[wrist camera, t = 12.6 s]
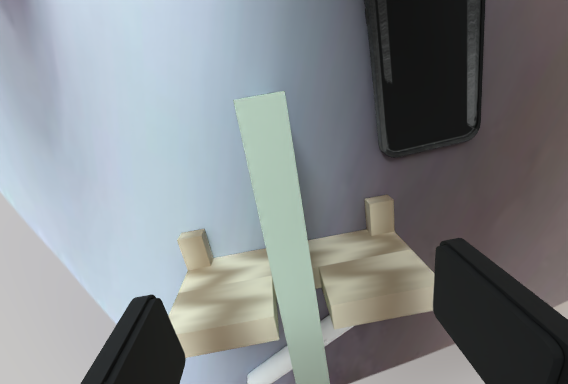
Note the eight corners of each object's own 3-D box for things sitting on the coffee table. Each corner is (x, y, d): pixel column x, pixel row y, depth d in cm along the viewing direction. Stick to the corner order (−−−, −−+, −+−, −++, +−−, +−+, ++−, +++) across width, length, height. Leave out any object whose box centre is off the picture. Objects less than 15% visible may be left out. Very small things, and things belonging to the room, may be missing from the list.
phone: (489, -109, 16) (480, 138, 21) (475, -96, 17) (469, 136, 22) (360, -77, 16) (382, 160, 21) (354, -67, 17) (377, 157, 22)
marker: (379, 272, 26) (390, 288, 24) (390, 284, 27) (402, 301, 25) (247, 368, 30) (245, 390, 27) (260, 377, 30) (259, 400, 28)
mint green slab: (307, 288, 26) (332, 397, 17) (287, 292, 26) (300, 403, 17) (274, 92, 20) (284, 91, 10) (247, 97, 20) (233, 100, 10)
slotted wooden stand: (206, 305, 26) (183, 391, 18) (181, 233, 23) (141, 300, 16) (390, 270, 26) (441, 342, 18) (387, 194, 23) (446, 242, 16)
